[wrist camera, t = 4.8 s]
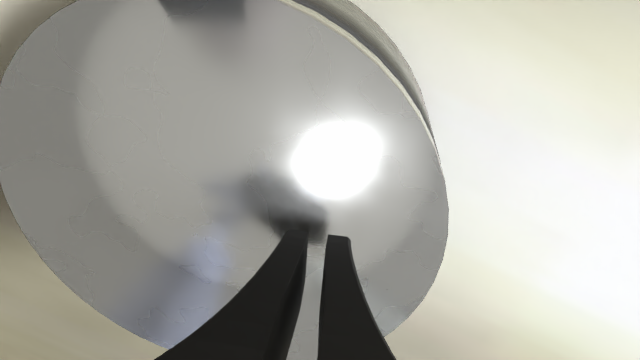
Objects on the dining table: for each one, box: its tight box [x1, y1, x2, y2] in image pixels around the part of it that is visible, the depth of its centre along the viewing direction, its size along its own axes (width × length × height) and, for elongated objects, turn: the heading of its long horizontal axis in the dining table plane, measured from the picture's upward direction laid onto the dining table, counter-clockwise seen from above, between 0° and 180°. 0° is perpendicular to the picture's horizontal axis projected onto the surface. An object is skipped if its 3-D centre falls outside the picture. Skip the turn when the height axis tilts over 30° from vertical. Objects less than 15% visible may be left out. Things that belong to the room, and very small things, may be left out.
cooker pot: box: [292, 0, 441, 164], centre depth 15 cm, size 15×19×4 cm
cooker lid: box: [0, 0, 449, 360], centre depth 13 cm, size 15×19×1 cm
